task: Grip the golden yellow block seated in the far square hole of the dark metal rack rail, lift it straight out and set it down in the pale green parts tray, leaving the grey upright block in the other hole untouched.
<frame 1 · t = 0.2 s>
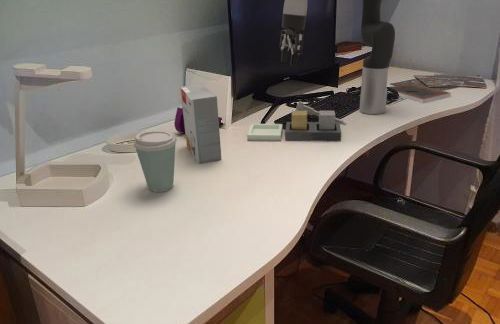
hand: (288, 64, 140), 22 cm above the table, tool pointing down, fingers open, 8 cm apart
disposable coffee cup: (162, 187, 110), on the table
parts tray: (265, 134, 142), on the table
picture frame: (415, 96, 180), on the table
golden yellow block: (299, 135, 140), resting in rack rail
mounting bracket: (203, 130, 150), on the table
grey upright block: (326, 135, 139), resting in rack rail
rack rail: (312, 135, 140), on the table
hard drive box: (203, 153, 130), on the table
caliper: (320, 121, 154), on the table
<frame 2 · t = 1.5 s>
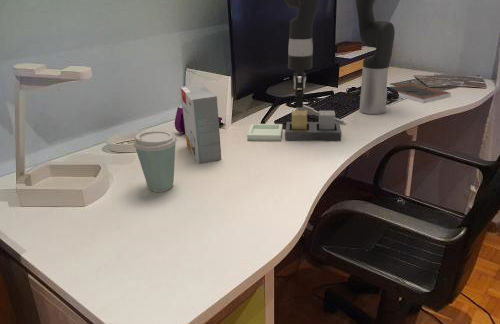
hand: (299, 103, 136), 11 cm above the table, tool pointing down, fingers open, 8 cm apart
nothing on the table moved.
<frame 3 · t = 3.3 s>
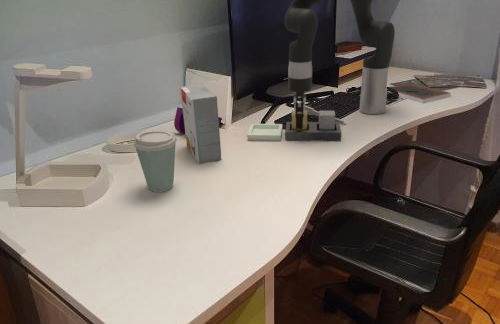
hand: (299, 125, 139), 4 cm above the table, tool pointing down, fingers closed on golden yellow block, 5 cm apart
golden yellow block: (299, 135, 140), resting in rack rail, touching gripper
everything else where it was.
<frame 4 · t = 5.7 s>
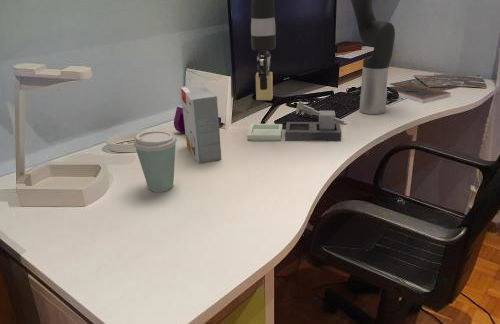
hand: (264, 87, 135), 17 cm above the table, tool pointing down, fingers closed on golden yellow block, 5 cm apart
golden yellow block: (264, 97, 136), point 13 cm above the table, touching gripper
everything else where it was.
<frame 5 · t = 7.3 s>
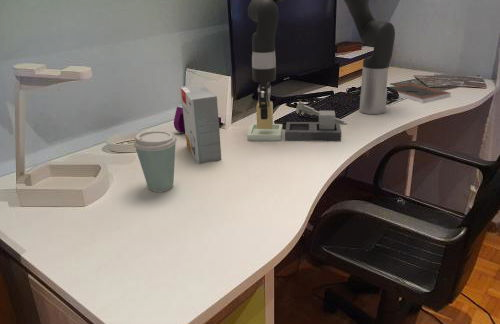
hand: (265, 116, 139), 7 cm above the table, tool pointing down, fingers closed on golden yellow block, 5 cm apart
golden yellow block: (265, 126, 141), point 3 cm above the table, touching gripper
everything else where it was.
when the fingers open (6 cm above the table, at t = 8.4 s): golden yellow block drops 2 cm, resting on parts tray.
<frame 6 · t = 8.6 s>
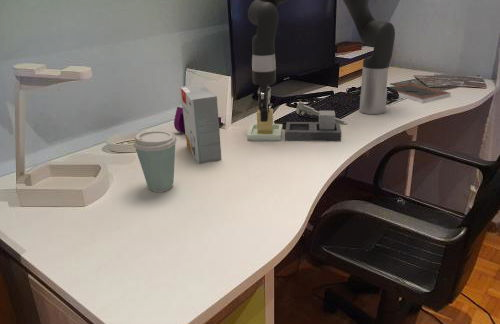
hand: (265, 117, 139), 6 cm above the table, tool pointing down, fingers open, 6 cm apart
golden yellow block: (265, 133, 142), point 1 cm above the table, touching parts tray
everything else where it was.
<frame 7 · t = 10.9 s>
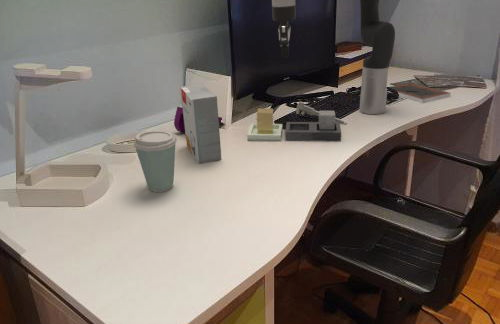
hand: (285, 55, 140), 25 cm above the table, tool pointing down, fingers open, 8 cm apart
nothing on the table moved.
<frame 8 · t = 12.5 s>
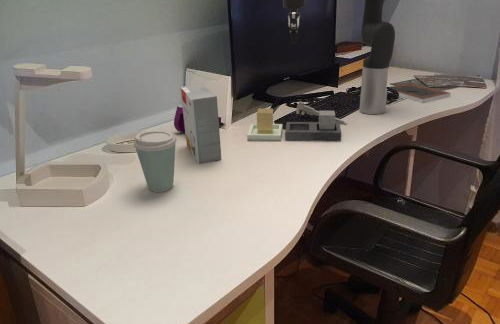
hand: (293, 42, 144), 28 cm above the table, tool pointing down, fingers open, 8 cm apart
nothing on the table moved.
at the end: golden yellow block inside the target area on the parts tray (0.1 cm from its centre), point 0.6 cm above the parts tray's base; the gripper is holding nothing; grey upright block moved 0.1 cm from its start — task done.
